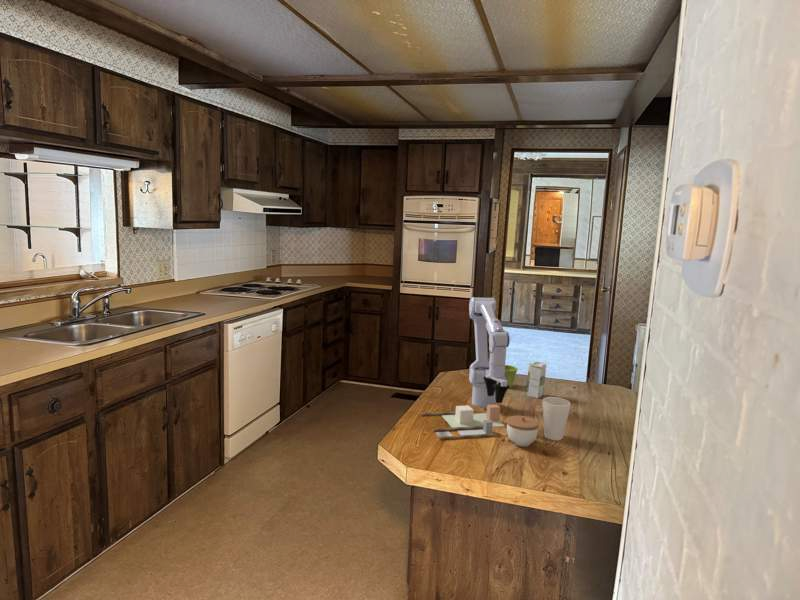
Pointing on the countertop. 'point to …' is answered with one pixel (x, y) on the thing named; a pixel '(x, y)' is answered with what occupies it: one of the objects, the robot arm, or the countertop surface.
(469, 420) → the cream cube
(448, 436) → the lane rails
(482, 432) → the grey l-shaped bracket
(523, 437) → the lidded jar
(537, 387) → the syrup box
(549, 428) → the foam cup
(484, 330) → the robot arm
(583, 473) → the countertop surface
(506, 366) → the plant pot
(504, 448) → the countertop surface
